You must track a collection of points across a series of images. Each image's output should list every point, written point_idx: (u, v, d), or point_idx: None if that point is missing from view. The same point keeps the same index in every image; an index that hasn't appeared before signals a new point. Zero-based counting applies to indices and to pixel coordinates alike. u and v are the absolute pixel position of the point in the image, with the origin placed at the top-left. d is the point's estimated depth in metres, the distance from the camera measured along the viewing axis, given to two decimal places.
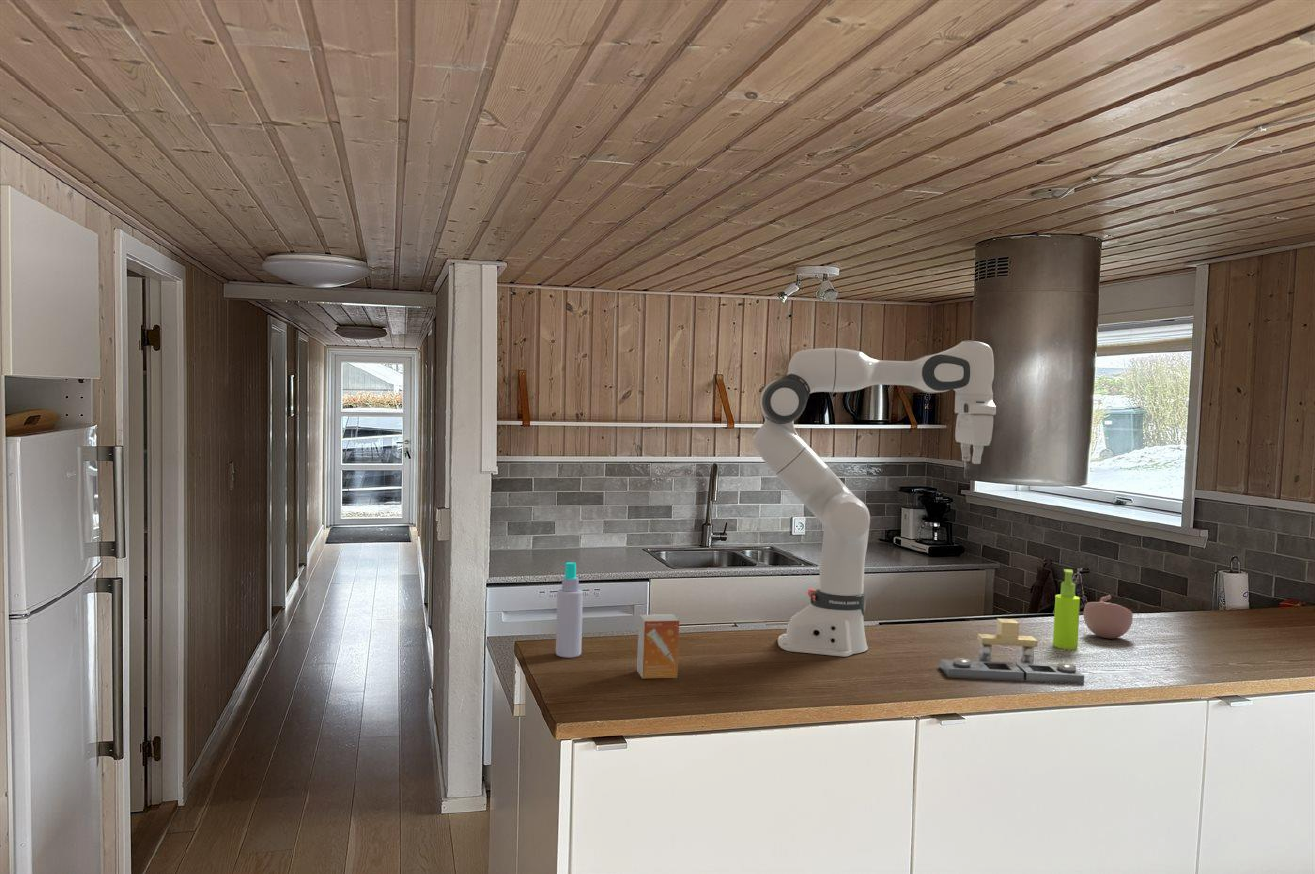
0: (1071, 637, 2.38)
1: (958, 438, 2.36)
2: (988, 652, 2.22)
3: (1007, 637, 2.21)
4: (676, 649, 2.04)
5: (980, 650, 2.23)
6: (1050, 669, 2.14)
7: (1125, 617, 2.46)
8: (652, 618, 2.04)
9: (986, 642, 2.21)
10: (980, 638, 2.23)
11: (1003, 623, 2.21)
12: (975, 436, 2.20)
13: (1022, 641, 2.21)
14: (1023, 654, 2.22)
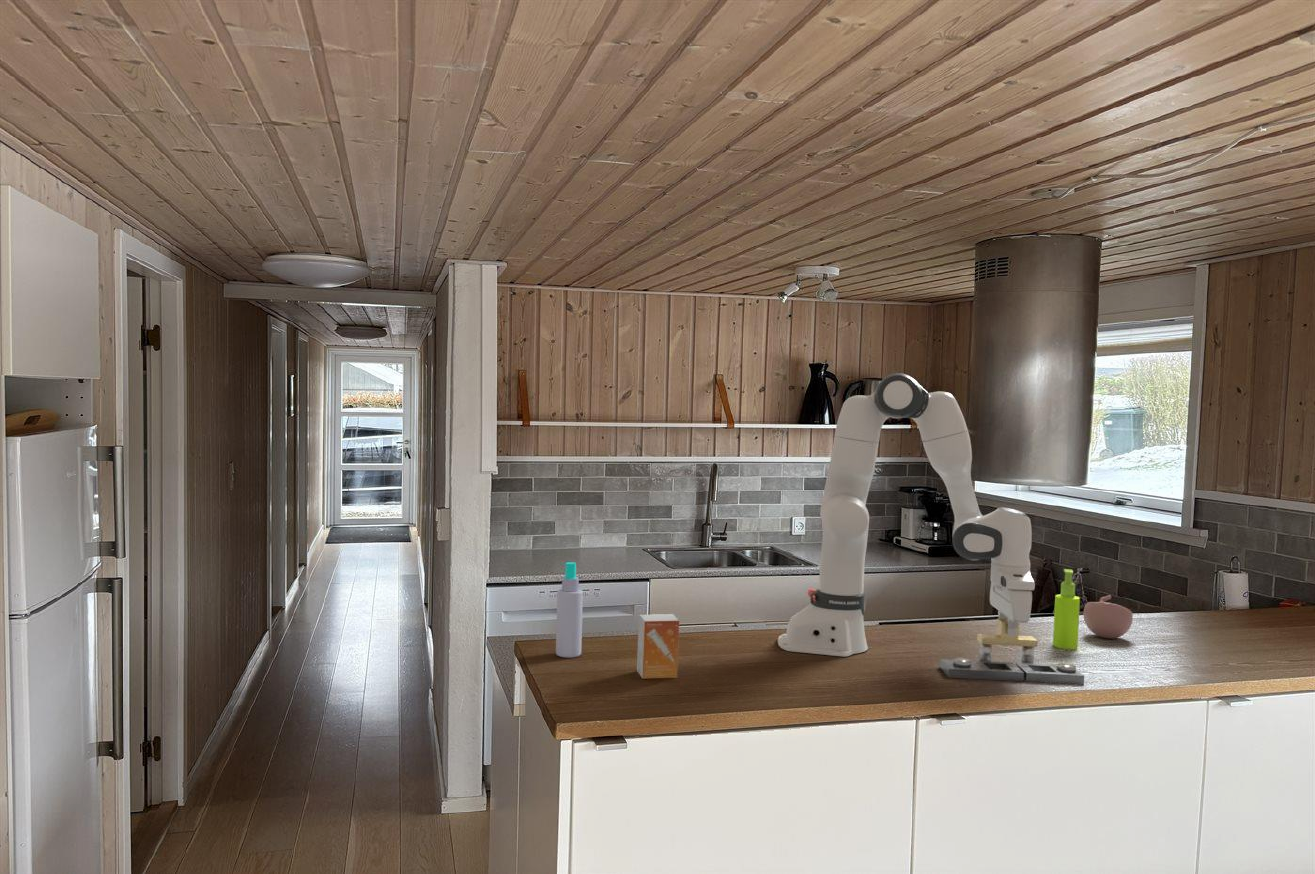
0: (1071, 637, 2.38)
1: (993, 603, 2.29)
2: (988, 652, 2.22)
3: (1007, 637, 2.21)
4: (676, 649, 2.04)
5: (980, 650, 2.23)
6: (1050, 669, 2.14)
7: (1125, 617, 2.46)
8: (652, 618, 2.04)
9: (986, 642, 2.22)
10: (980, 638, 2.23)
11: (1003, 623, 2.21)
12: (1013, 613, 2.13)
13: (1022, 641, 2.21)
14: (1023, 654, 2.22)
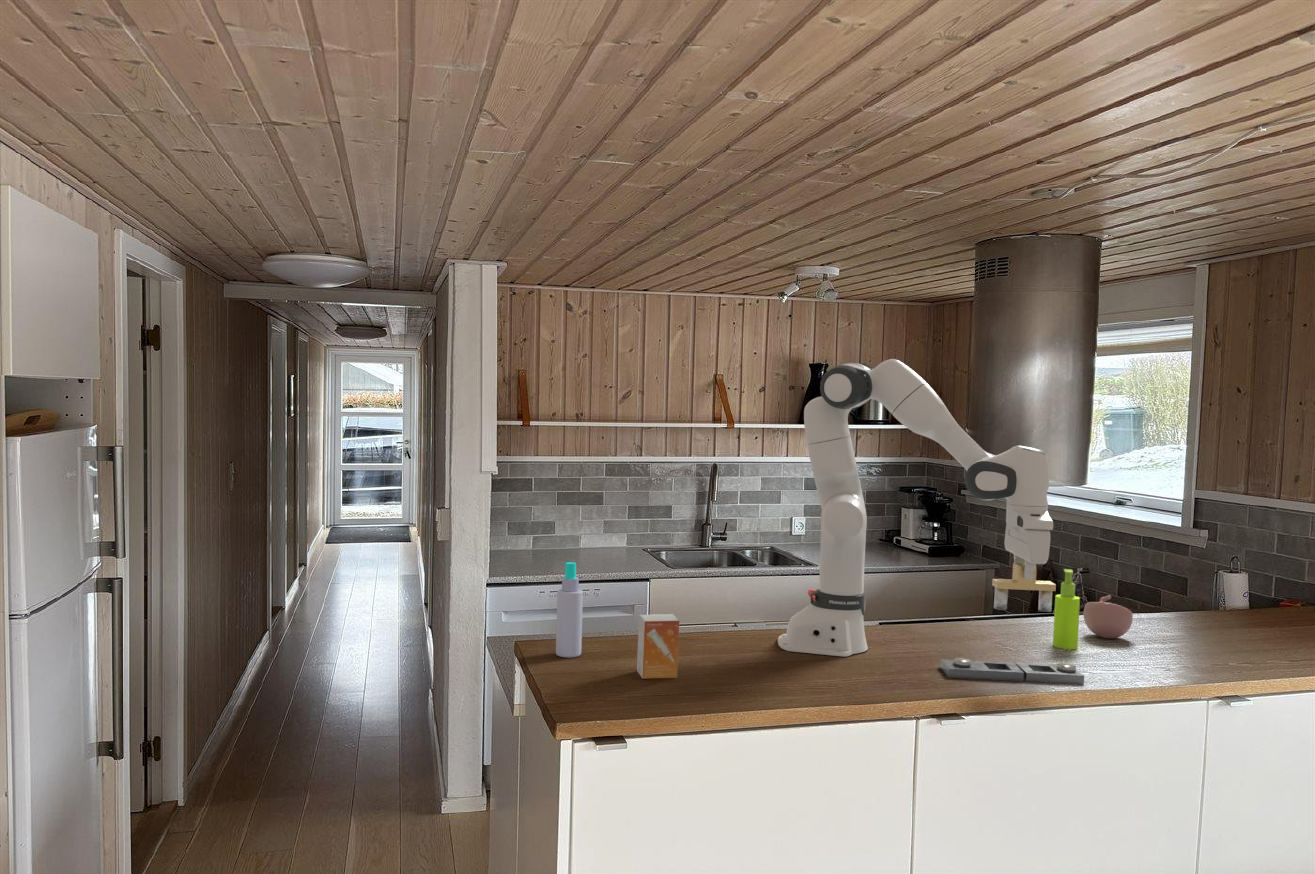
0: (1071, 637, 2.38)
1: (1008, 547, 2.18)
2: (1003, 597, 2.12)
3: (1024, 581, 2.11)
4: (676, 649, 2.04)
5: (995, 595, 2.13)
6: (1050, 669, 2.14)
7: (1125, 617, 2.46)
8: (652, 618, 2.04)
9: (1002, 586, 2.11)
10: (995, 583, 2.12)
11: (1020, 566, 2.10)
12: (1031, 554, 2.02)
13: (1040, 585, 2.10)
14: (1040, 599, 2.12)
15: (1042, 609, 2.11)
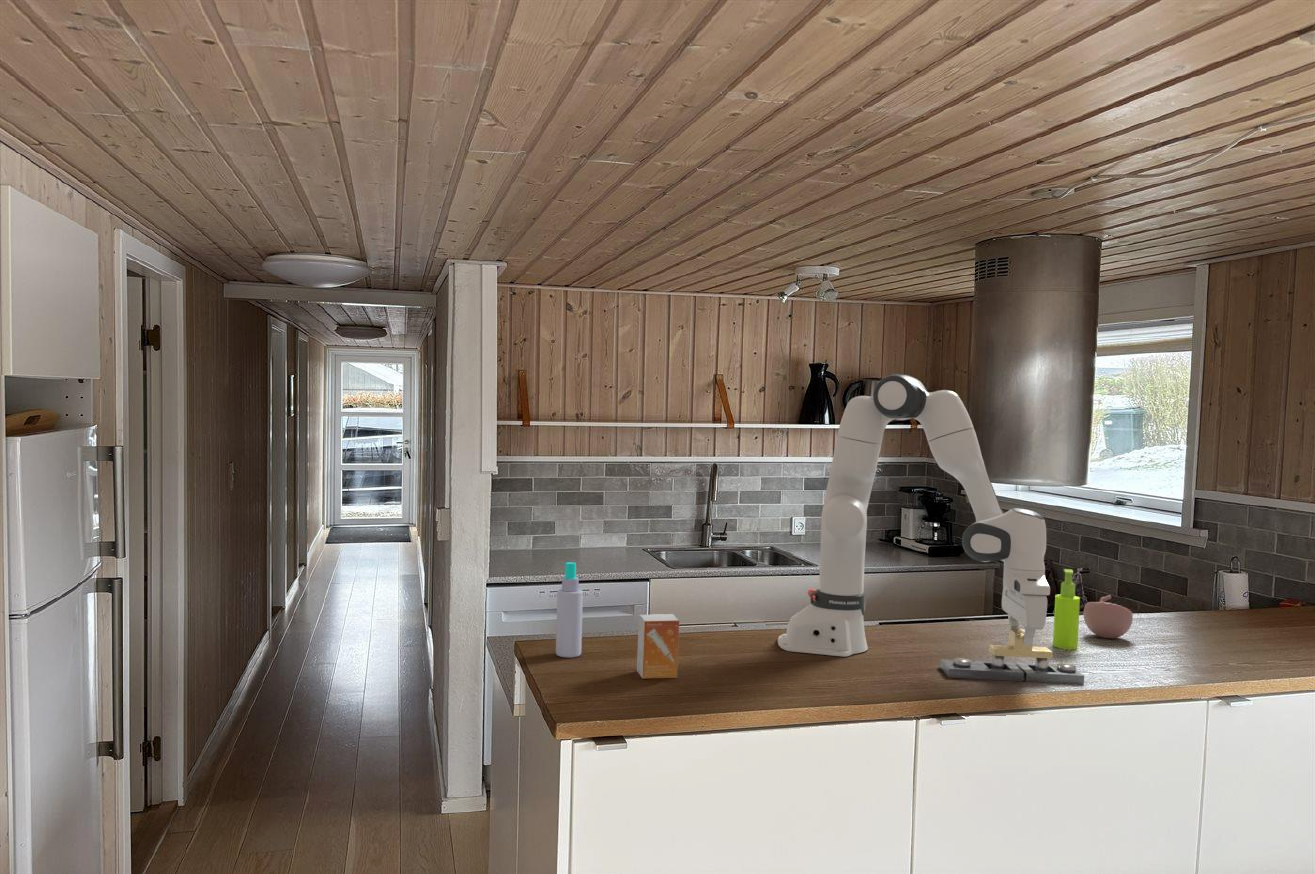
0: (1071, 637, 2.38)
1: (1005, 608, 2.19)
2: (1000, 663, 2.12)
3: (1020, 648, 2.11)
4: (676, 649, 2.04)
5: (992, 662, 2.13)
6: (1050, 669, 2.14)
7: (1125, 617, 2.46)
8: (652, 618, 2.04)
9: (998, 653, 2.12)
10: (992, 649, 2.13)
11: (1016, 634, 2.11)
12: (1028, 619, 2.03)
13: (1036, 652, 2.11)
14: (1036, 666, 2.12)
15: None
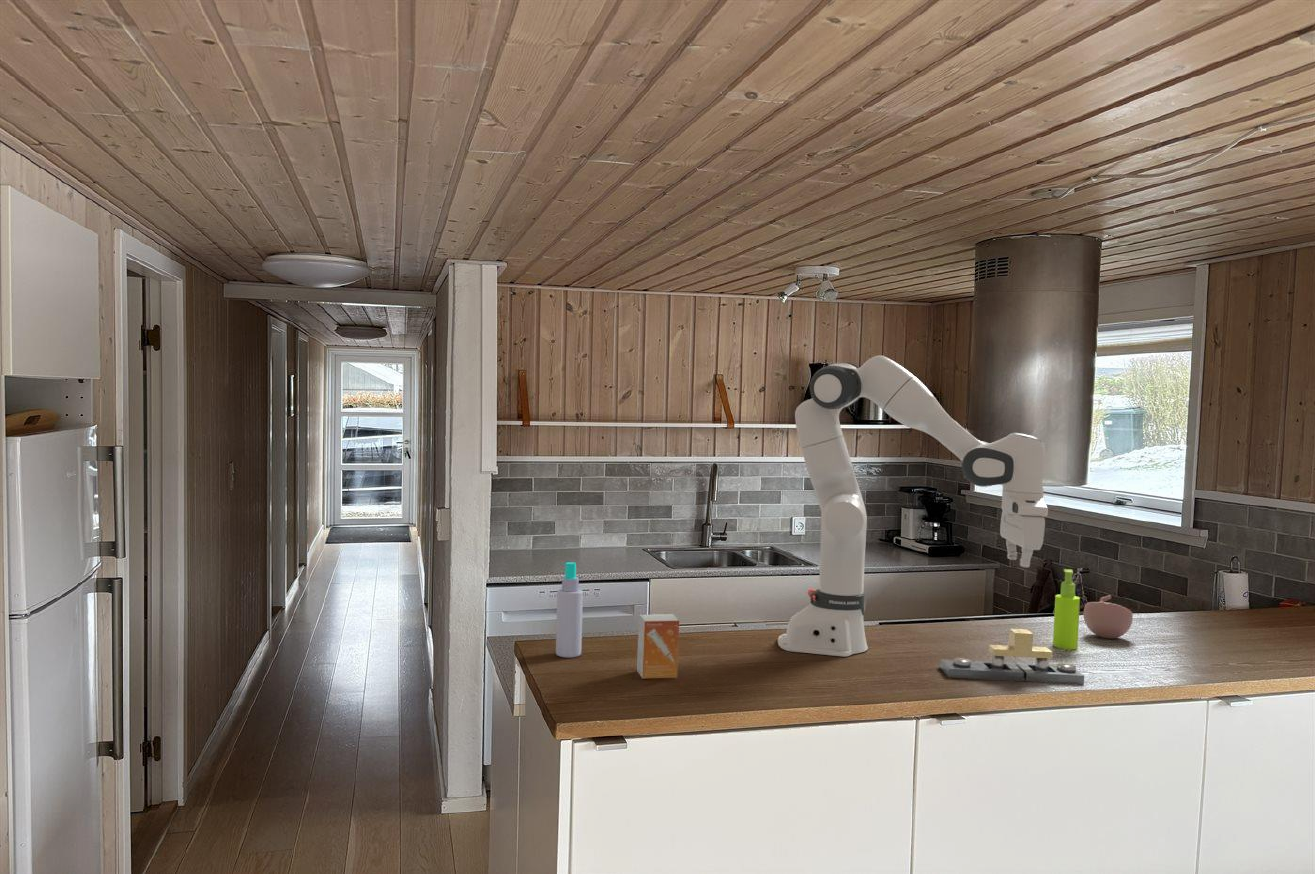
0: (1071, 637, 2.38)
1: (1004, 534, 2.20)
2: (1000, 664, 2.12)
3: (1020, 648, 2.11)
4: (676, 649, 2.04)
5: (992, 662, 2.13)
6: (1050, 669, 2.14)
7: (1125, 617, 2.46)
8: (652, 618, 2.04)
9: (998, 653, 2.12)
10: (992, 649, 2.13)
11: (1016, 634, 2.11)
12: (1025, 540, 2.04)
13: (1036, 652, 2.11)
14: (1036, 666, 2.12)
15: None
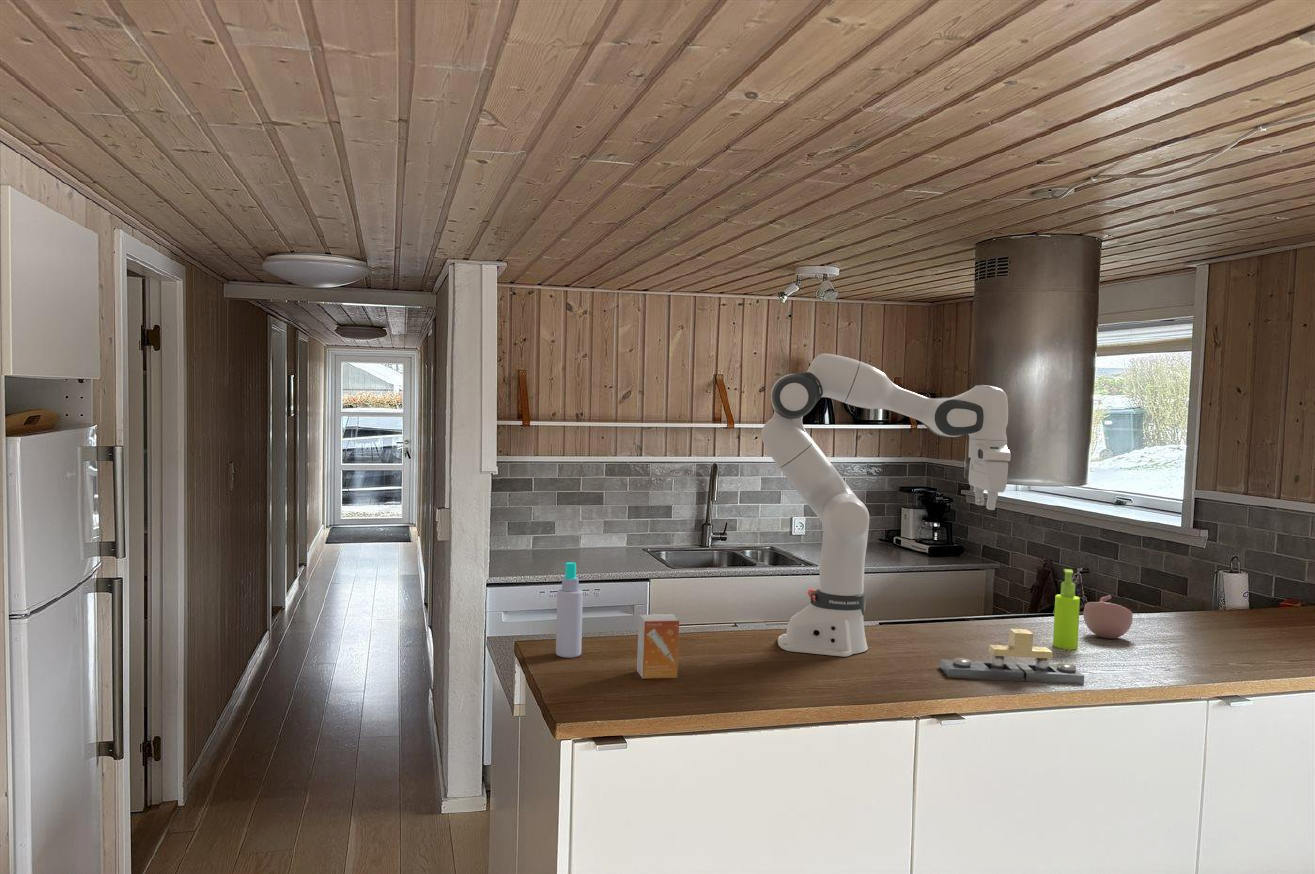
0: (1071, 637, 2.38)
1: (971, 482, 2.34)
2: (1000, 664, 2.12)
3: (1020, 648, 2.11)
4: (676, 649, 2.04)
5: (992, 662, 2.13)
6: (1050, 669, 2.14)
7: (1125, 617, 2.46)
8: (652, 618, 2.04)
9: (998, 653, 2.12)
10: (992, 649, 2.13)
11: (1016, 634, 2.11)
12: (990, 483, 2.18)
13: (1036, 652, 2.11)
14: (1036, 666, 2.12)
15: None
